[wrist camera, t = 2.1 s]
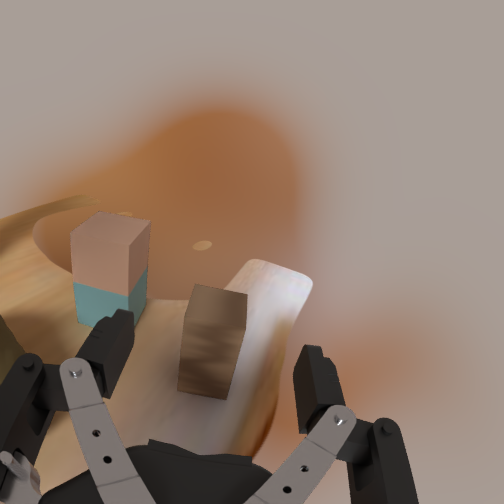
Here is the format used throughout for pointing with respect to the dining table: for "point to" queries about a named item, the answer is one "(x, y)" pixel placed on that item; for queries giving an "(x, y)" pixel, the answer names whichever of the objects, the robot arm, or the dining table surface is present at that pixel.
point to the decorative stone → (7, 350)
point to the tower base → (108, 301)
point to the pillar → (211, 341)
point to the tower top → (110, 252)
